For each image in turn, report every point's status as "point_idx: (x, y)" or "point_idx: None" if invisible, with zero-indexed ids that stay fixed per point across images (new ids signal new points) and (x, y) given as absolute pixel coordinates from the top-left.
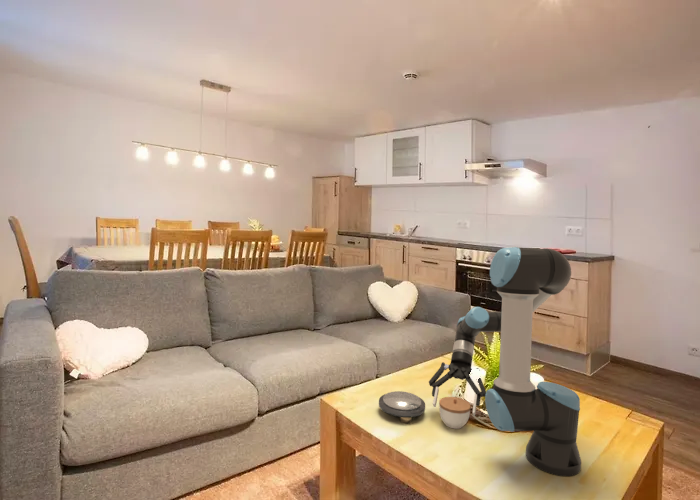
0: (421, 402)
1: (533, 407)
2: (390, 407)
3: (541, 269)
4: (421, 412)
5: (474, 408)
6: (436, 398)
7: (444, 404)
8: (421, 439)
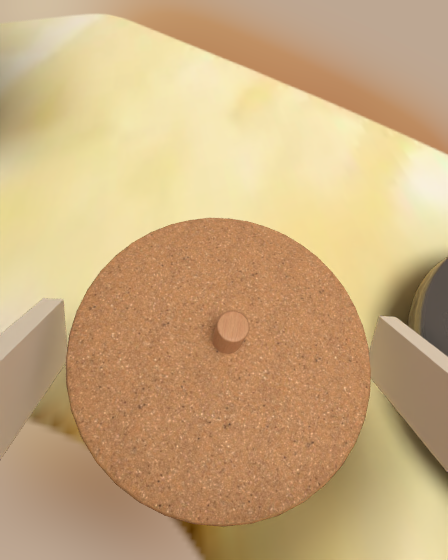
0: None
1: None
2: None
3: None
4: (414, 319)
5: (31, 314)
6: (408, 369)
7: (305, 269)
8: (316, 184)
